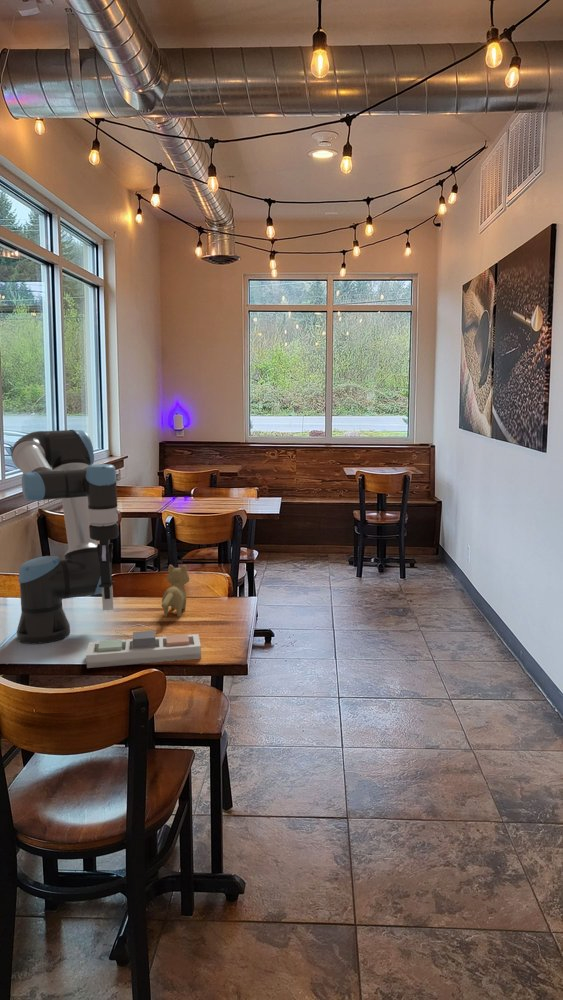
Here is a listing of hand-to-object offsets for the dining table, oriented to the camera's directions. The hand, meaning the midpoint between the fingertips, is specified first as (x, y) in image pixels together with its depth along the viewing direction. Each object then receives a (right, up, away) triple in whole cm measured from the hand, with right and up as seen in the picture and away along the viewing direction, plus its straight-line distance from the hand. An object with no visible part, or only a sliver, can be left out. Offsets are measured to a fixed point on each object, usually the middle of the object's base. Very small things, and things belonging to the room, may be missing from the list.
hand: (108, 609), depth 188 cm
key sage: (0, -12, +1) cm, 12 cm away
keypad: (+9, -13, +3) cm, 17 cm away
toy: (+12, -8, +39) cm, 42 cm away
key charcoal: (+9, -10, +3) cm, 14 cm away
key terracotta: (+18, -11, +5) cm, 22 cm away
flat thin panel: (+5, -11, +23) cm, 26 cm away
